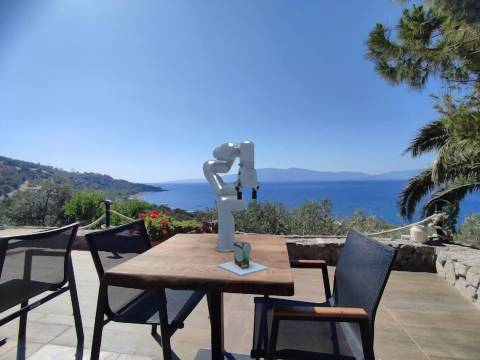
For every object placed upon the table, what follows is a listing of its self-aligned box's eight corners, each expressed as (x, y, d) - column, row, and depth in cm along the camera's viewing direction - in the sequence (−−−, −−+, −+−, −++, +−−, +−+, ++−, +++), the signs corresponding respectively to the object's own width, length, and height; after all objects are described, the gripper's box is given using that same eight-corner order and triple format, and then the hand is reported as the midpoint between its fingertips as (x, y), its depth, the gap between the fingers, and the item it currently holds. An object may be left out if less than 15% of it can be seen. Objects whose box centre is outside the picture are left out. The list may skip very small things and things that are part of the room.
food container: (256, 268, 124) (256, 245, 124) (243, 270, 121) (243, 246, 122) (245, 261, 135) (245, 240, 135) (233, 262, 133) (233, 241, 133)
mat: (216, 266, 130) (217, 264, 130) (243, 260, 139) (243, 259, 139) (241, 276, 115) (241, 274, 115) (269, 268, 125) (269, 267, 125)
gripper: (238, 164, 135) (238, 200, 134) (264, 166, 145) (264, 199, 145) (228, 165, 141) (229, 199, 140) (254, 167, 151) (255, 198, 151)
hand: (247, 199), depth 143 cm, fingers open, 9 cm apart
